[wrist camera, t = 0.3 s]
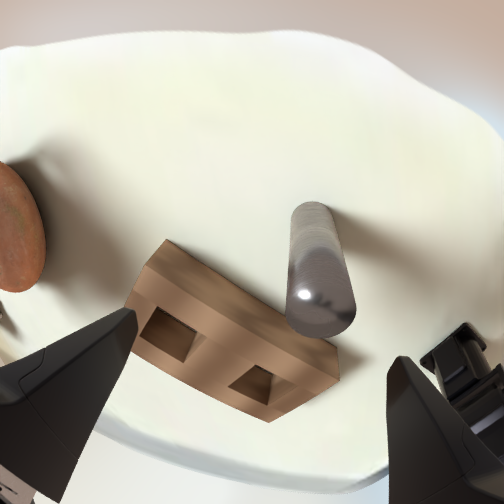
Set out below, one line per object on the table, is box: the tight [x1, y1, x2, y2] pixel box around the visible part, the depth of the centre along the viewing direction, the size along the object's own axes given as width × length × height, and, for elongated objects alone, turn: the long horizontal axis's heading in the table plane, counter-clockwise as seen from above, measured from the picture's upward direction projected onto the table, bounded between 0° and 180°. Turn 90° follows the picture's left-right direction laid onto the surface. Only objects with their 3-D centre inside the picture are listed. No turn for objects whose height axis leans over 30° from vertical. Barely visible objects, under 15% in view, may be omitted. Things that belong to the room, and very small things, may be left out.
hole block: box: [124, 239, 340, 423], centre depth 25 cm, size 18×10×4 cm, turn 56°
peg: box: [285, 202, 356, 339], centre depth 16 cm, size 3×3×10 cm
